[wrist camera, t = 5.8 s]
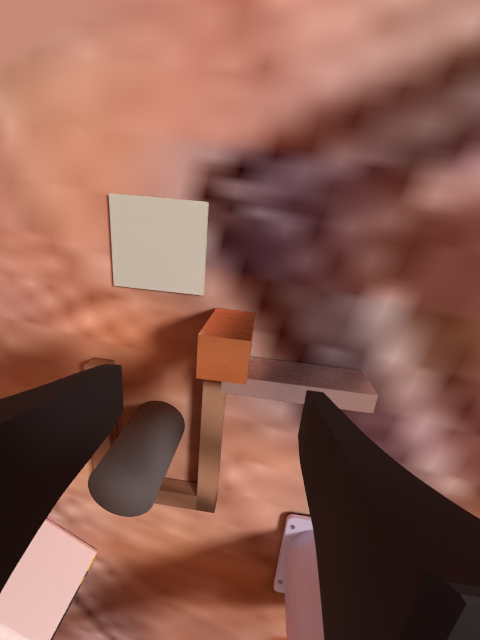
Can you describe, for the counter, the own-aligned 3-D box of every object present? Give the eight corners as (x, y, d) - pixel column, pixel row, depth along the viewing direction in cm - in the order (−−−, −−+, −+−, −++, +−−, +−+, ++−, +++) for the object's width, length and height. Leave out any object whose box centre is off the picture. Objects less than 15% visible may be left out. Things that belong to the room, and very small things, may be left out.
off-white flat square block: (203, 294, 18) (203, 295, 18) (116, 284, 18) (113, 285, 18) (208, 202, 16) (207, 201, 16) (111, 193, 17) (108, 193, 16)
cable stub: (184, 446, 22) (155, 521, 16) (136, 439, 22) (90, 510, 17) (185, 404, 21) (154, 469, 15) (134, 397, 21) (85, 458, 15)
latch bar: (356, 385, 19) (387, 437, 14) (212, 367, 19) (194, 410, 15) (372, 325, 17) (411, 360, 13) (216, 308, 18) (198, 334, 13)
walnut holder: (216, 499, 23) (214, 512, 22) (104, 481, 24) (96, 493, 23) (227, 375, 20) (224, 383, 18) (94, 357, 20) (83, 365, 19)
